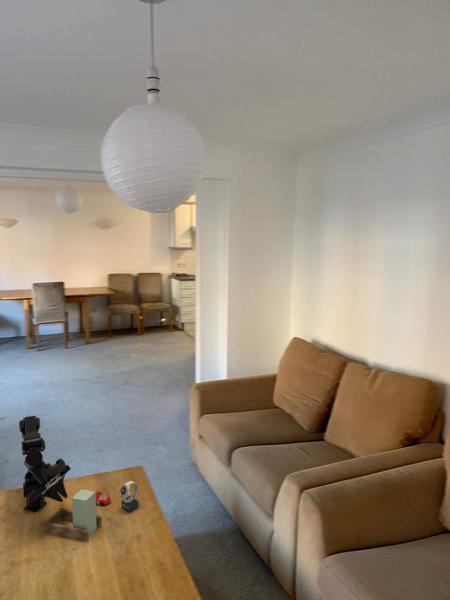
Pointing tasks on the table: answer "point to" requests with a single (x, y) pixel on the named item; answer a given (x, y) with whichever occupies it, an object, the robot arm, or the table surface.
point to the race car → (102, 498)
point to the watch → (129, 502)
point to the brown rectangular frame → (67, 531)
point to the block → (84, 510)
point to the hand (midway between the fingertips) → (64, 499)
